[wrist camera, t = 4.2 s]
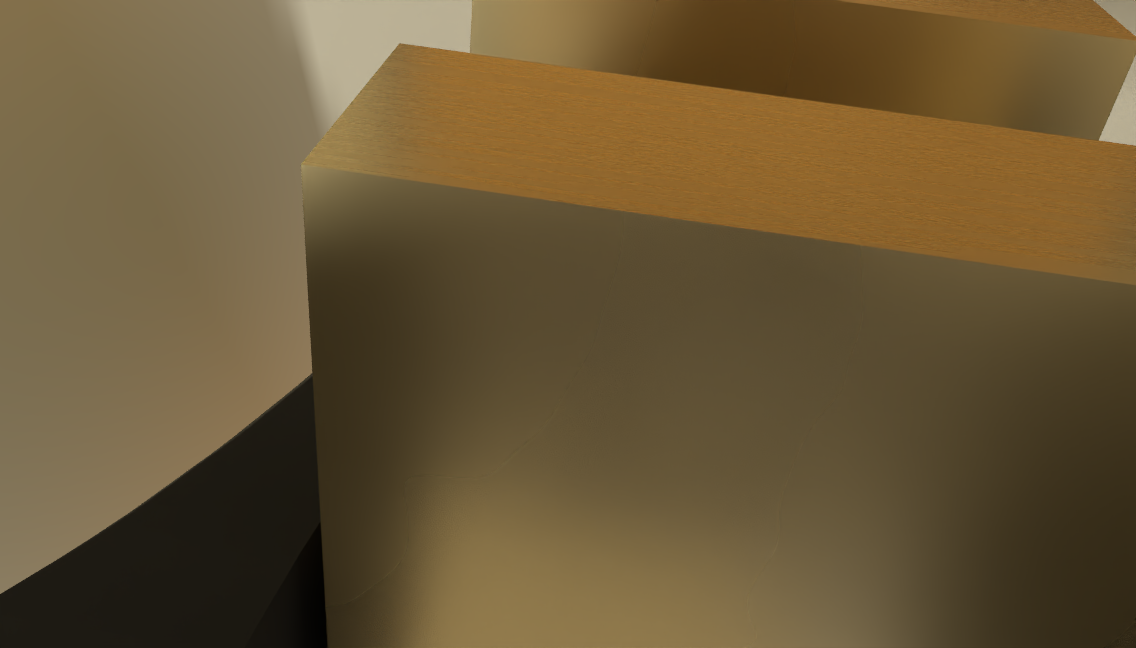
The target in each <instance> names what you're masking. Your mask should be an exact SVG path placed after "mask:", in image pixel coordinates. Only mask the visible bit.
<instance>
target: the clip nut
mask: <svg viewBox="0 0 1136 648" xmlns="http://www.w3.org/2000/svg"><path fill="white" fill-rule="evenodd" d="M1135 55H1136V37H1135V36H1134V35H1133V34H1132V33H1131V32H1130V31H1128V30H1127V29H1126V28H1125V27H1124V26H1122V25H1121V24H1120V23H1119V22H1118V21H1117V20H1115V19H1114V18H1113V17H1112V16H1111V15H1110V14H1108V13H1107V12H1106V11H1105V10H1104V9H1103V8H1101V7H1100V6H1099V5H1098V4H1097V3H1095V2H1094V1H1093V0H472V20H471V41H470V53H465V52H458V51H451V50H443V49H436V48H429V47H422V46H415V45H407V44H399V45H398V46H397V47H396V49H395V50H394V51H393V52H392V53H391V55H390V56H389V57H388V58H387V60H386V61H385V62H384V63H383V64H382V66H381V67H380V68H379V69H378V71H377V72H376V73H375V74H374V76H373V77H372V78H371V79H370V80H369V82H368V83H367V84H366V85H365V87H364V88H363V89H362V90H361V91H360V93H359V94H358V95H357V96H356V98H355V99H354V100H353V101H352V102H351V104H350V105H349V106H348V107H347V109H346V110H345V111H344V112H343V114H342V115H341V116H340V117H339V118H338V120H337V121H336V122H335V123H334V125H333V126H332V127H331V128H330V129H329V131H328V132H327V133H326V134H325V136H324V137H323V138H322V139H321V140H320V142H319V143H318V144H317V145H316V147H315V148H314V149H313V150H312V152H311V153H310V154H309V155H308V156H307V158H306V159H305V160H304V161H303V163H302V164H301V172H302V173H301V174H302V192H303V210H304V227H305V246H306V264H307V283H308V301H309V318H310V337H311V353H312V354H311V355H312V372H313V391H314V409H315V427H316V445H317V463H318V481H319V499H320V517H321V535H322V553H323V571H324V589H325V608H326V626H327V644H328V648H1136V146H1133V145H1126V144H1119V143H1112V142H1105V141H1098V140H1099V138H1100V136H1101V133H1102V131H1103V129H1104V126H1105V124H1106V122H1107V119H1108V117H1109V115H1110V112H1111V110H1112V108H1113V106H1114V103H1115V101H1116V99H1117V96H1118V94H1119V92H1120V89H1121V87H1122V85H1123V82H1124V80H1125V78H1126V76H1127V73H1128V71H1129V69H1130V66H1131V64H1132V62H1133V59H1134V57H1135Z"/></svg>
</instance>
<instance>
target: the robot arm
mask: <svg viewBox="0 0 1136 648" xmlns="http://www.w3.org/2000/svg"><path fill="white" fill-rule="evenodd" d="M0 648H328V644H327V626H326V608H325V589H324V571H323V553H322V535H321V517H320V499H319V481H318V463H317V445H316V427H315V409H314V391H313V373H312V374H311V375H310V376H308V377H307V378H306V379H305V380H304V381H303V382H301V383H300V384H299V385H298V386H297V387H295V388H294V389H293V390H292V391H290V392H289V393H288V394H287V395H285V396H284V397H283V398H282V399H281V400H279V401H278V402H277V403H276V404H274V405H273V406H272V407H271V408H269V409H268V410H267V411H265V412H264V413H263V414H262V415H261V416H259V417H258V418H257V419H256V420H254V421H253V422H252V423H251V424H249V425H248V426H247V427H246V428H244V429H243V430H242V431H241V432H239V433H238V434H237V435H236V436H234V437H233V438H232V439H230V440H229V441H228V442H227V443H225V444H224V445H223V446H221V447H220V448H219V449H217V450H216V451H215V452H213V453H212V454H211V455H209V456H208V457H206V458H205V459H204V460H202V461H201V462H199V463H198V464H197V465H196V466H194V467H193V468H191V469H190V470H188V471H187V472H186V473H184V474H183V475H181V476H180V477H179V478H177V479H176V480H175V481H173V482H172V483H170V484H169V485H168V486H166V487H165V488H163V489H162V490H161V491H159V492H158V493H156V494H155V495H154V496H152V497H151V498H150V499H148V500H147V501H145V502H144V503H143V504H141V505H140V506H138V507H137V508H136V509H134V510H133V511H131V512H130V513H128V514H127V515H125V516H124V517H122V518H121V519H119V520H118V521H116V522H115V523H113V524H112V525H110V526H109V527H107V528H106V529H104V530H103V531H101V532H100V533H98V534H97V535H95V536H94V537H92V538H91V539H89V540H88V541H86V542H84V543H83V544H81V545H80V546H78V547H77V548H75V549H73V550H72V551H70V552H69V553H67V554H66V555H64V556H62V557H61V558H59V559H57V560H56V561H54V562H53V563H51V564H49V565H48V566H46V567H44V568H43V569H41V570H39V571H38V572H36V573H34V574H33V575H31V576H30V577H28V578H26V579H25V580H23V581H21V582H20V583H18V584H16V585H15V586H13V587H11V588H10V589H8V590H6V591H5V592H3V593H1V594H0Z"/></svg>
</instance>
